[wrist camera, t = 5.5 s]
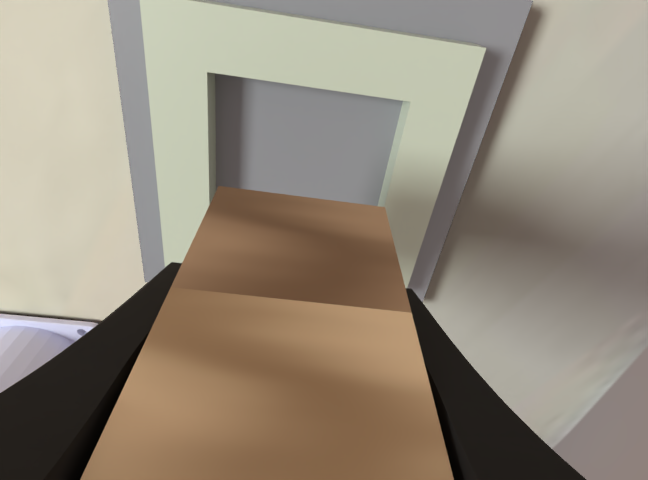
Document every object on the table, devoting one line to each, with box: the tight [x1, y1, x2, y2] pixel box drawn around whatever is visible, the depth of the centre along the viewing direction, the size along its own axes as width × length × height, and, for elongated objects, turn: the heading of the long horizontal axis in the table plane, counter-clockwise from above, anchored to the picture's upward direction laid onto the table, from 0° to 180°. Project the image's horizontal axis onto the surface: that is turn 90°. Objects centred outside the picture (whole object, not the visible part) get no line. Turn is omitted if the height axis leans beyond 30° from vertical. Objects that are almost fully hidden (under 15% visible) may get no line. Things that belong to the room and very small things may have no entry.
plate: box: [108, 0, 533, 302], centre depth 16 cm, size 14×14×2 cm
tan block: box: [80, 186, 454, 480], centre depth 9 cm, size 4×4×8 cm
